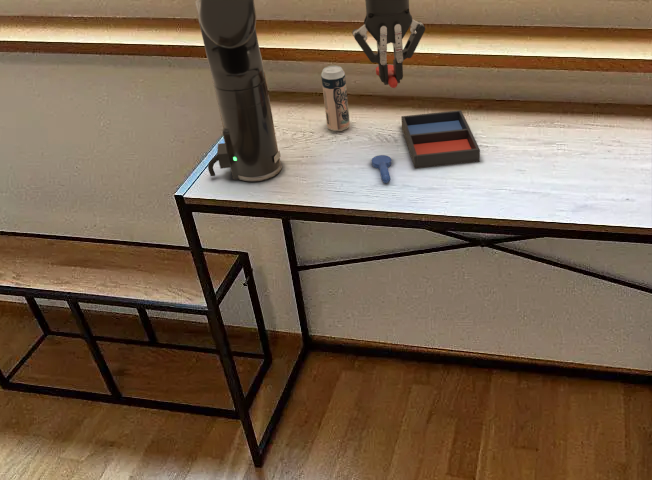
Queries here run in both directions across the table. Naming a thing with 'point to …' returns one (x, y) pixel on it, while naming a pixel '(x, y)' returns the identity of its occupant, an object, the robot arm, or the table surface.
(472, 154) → the sorting tray
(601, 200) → the table surface
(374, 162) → the blue spoon
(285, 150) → the table surface
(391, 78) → the red spoon
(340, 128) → the beer can
